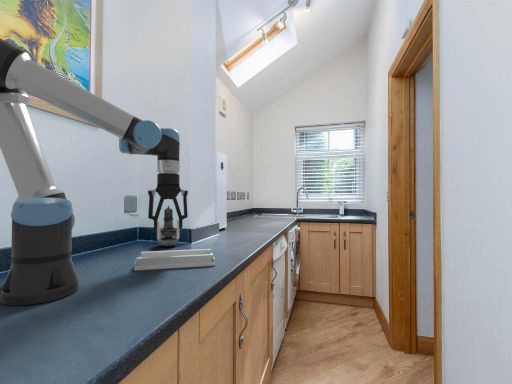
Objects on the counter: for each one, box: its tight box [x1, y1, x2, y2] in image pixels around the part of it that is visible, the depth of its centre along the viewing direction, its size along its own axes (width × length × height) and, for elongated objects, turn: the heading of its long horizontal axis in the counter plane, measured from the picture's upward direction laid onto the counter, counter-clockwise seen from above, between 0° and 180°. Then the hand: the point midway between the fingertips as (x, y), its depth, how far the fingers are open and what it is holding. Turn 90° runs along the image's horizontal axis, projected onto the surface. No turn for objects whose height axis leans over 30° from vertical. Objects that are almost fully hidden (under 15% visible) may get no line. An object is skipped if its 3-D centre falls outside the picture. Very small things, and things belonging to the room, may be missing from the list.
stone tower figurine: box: [160, 205, 177, 241], centre depth 96 cm, size 6×6×12 cm
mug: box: [157, 225, 179, 248], centre depth 128 cm, size 10×12×10 cm
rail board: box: [133, 248, 216, 271], centre depth 97 cm, size 26×12×4 cm, turn 105°
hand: (168, 238), depth 96 cm, fingers closed on stone tower figurine, 6 cm apart
